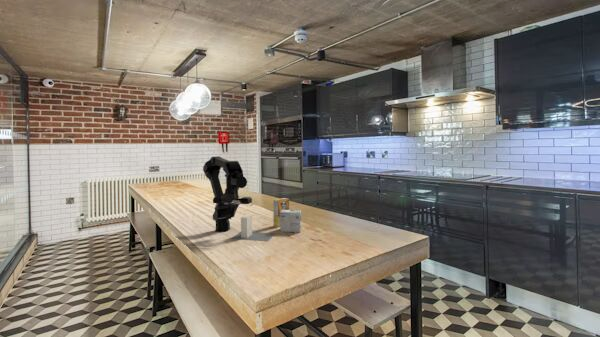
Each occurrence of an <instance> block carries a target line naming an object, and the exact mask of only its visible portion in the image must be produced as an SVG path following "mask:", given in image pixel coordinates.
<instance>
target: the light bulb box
mask: <svg viewBox="0 0 600 337" xmlns="http://www.w3.org/2000/svg"><path fill="white" fill-rule="evenodd" d="M279 228H280V232H290V233H301V230H302V210H301V209H289V210H282V211H281V212H280V227H279Z"/></svg>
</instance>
